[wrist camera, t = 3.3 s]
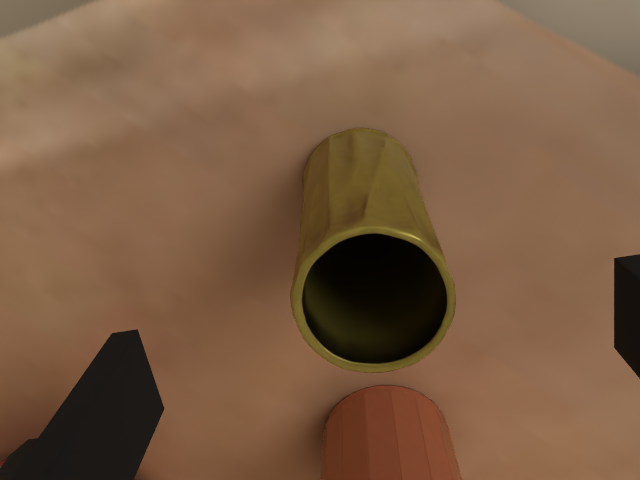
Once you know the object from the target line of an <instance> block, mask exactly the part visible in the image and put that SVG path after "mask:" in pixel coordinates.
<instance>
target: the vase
mask: <svg viewBox="0 0 640 480" xmlns="http://www.w3.org/2000/svg"><path fill="white" fill-rule="evenodd" d="M303 189H304V200H303V210H302V218H301V232H300V241H299V250H298V254H297V259H296V265H295V271H294V278H293V283H292V287H291V292H290V301H291V307H292V312H293V316H294V319H295V321H296V323H297V326H298V328H299V330H300V332H301V334H302V336H303V338H304V339H305V341H306V342H307V343H308V345H309V346H310V347H311V348H312V349H313V350H314V351H315V352H316V353H318V354H319V355H320V356H321V357H322V358H324V359H326V360H327V361H329V362H330V363H332V364H334V365H336V366H338V367H340V368H343V369H346V370H350V371H357V372H365V373H381V372H388V371H393V370H397V369H400V368H404V367H407V366H410V365H412V364H414V363H416V362H418V361H420V360H421V359H423V358H424V357H425V356H427V355H428V354H429V353H430V352H432V351H433V350H434V349H435V348H436V347H437V346H438V344H439V343H440V342H441V340H442V339H443V337H444V336H445V334H446V332H447V330H448V328H449V326H450V324H451V322H452V320H453V317H454V314H455V305H456V295H455V284H454V282H453V280H452V278H451V275H450V273H449V270H448V268H447V264H446V260H445V257H444V255H443V252H442V249H441V246H440V244H439V241H438V239H437V237H436V235H435V232H434V229H433V226H432V224H431V221H430V218H429V215H428V212H427V209H426V207H425V204H424V202H423V199H422V196H421V192H420V188H419V185H418V182H417V174H416V170H415V167H414V165H413V162H412V160H411V158H410V156H409V154H408V152H407V151H406V150H405V148H404V147H403V146H402V145H401V144H400V143H399V142H398V141H397V140H395V139H394V138H392V137H391V136H389V135H388V134H386V133H383V132H380V131H377V130H373V129H366V128H354V129H350V130H346V131H343V132H340V133H338V134H335V135H333V136H330V137H329V138H327V139H326V140H325V141H324V142H323V143H322V144H320V145H319V147H318V148H317V149H316V150H315V151H314V152H313V153H312V155H311V157H310V159H309V161H308V163H307V166H306V169H305V172H304V176H303Z"/></svg>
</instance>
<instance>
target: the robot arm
mask: <svg viewBox="0 0 640 480" xmlns="http://www.w3.org/2000/svg"><path fill="white" fill-rule="evenodd" d="M614 348H615V349H616V350H617V351H618V353H619V354H620V355H621V356H622V358H623V359H624V360H625V361H626V362H627V364H628V365H629V366H630V367H631V368H632V370H633V371H634V372H635V373H636V375H637V376H638V377H639V378H640V254H639V255H632V256H626V257H619V258H614ZM163 411H164V406H163V403H162V400H161V397H160V395H159V392H158V389H157V386H156V383H155V380H154V377H153V374H152V371H151V368H150V365H149V362H148V359H147V356H146V353H145V350H144V347H143V344H142V341H141V338H140V335H139V332H138V330H131V331H124V332H117V333H112V334H111V335H110V337H109V338H108V340H107V341H106V342H105V344H104V345H103V347H102V348H101V350H100V351H99V352H98V354H97V355H96V357H95V358H94V360H93V361H92V362H91V364H90V365H89V367H88V368H87V369H86V371H85V372H84V374H83V375H82V377H81V378H80V379H79V381H78V382H77V384H76V385H75V387H74V388H73V389H72V391H71V392H70V394H69V395H68V397H67V398H66V399H65V401H64V402H63V404H62V405H61V406H60V408H59V409H58V411H57V412H56V414H55V415H54V416H53V418H52V419H51V421H50V422H49V424H48V425H47V426H46V428H45V429H44V431H43V432H42V434H41V435H40V436H39V438H37V439H29V440H27V441H26V442H25V443H24V444H23V445H21V446H20V447H19V448H18V449H17V450H15V451H14V452H13V453H12V454H11V455H10V456H9V457H8V458H7V459H6V461H5V462H4V463H3V465H2V466H1V467H0V480H133V479H134V477H135V475H136V472H137V470H138V468H139V465H140V463H141V461H142V459H143V456H144V454H145V452H146V449H147V447H148V445H149V443H150V440H151V438H152V436H153V433H154V431H155V429H156V427H157V424H158V422H159V420H160V417H161V415H162V413H163Z"/></svg>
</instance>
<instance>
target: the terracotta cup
mask: <svg viewBox="0 0 640 480" xmlns="http://www.w3.org/2000/svg"><path fill="white" fill-rule="evenodd" d="M321 480H462V478H461V474H460V470H459V467H458V463H457V459H456V455H455V451H454V448H453V444H452V440H451V436H450V432H449V428H448V425H447V424H446V421H445V419H444V417H443V415H442V413H441V411H440V410H439V409H438V407H437V406H436V405H435V404H434V403H433V402H432V401H431V400H429V399H428V398H427V397H425V396H424V395H422V394H420V393H418V392H416V391H414V390H411V389H408V388H404V387H400V386H392V385H382V386H373V387H368V388H365V389H362V390H359V391H357V392H354V393H352V394H351V395H349V396H347V397H346V398H345V399H343V400H342V401H341V402H340V403H339V404H338V405H337V406H336V407H335V408H334V409H333V410H332V412H331V413H330V415H329V417H328V419H327V421H326V424H325V428H324V436H323V440H322V458H321Z"/></svg>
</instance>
